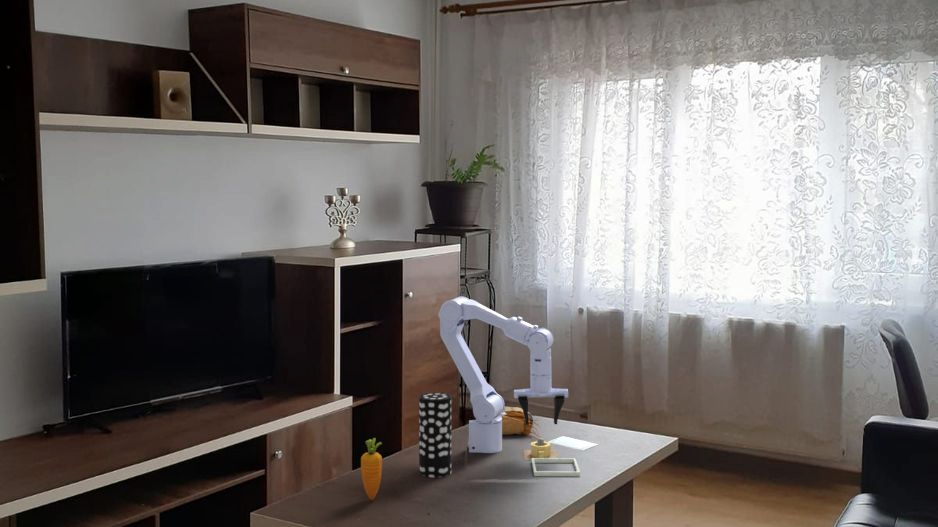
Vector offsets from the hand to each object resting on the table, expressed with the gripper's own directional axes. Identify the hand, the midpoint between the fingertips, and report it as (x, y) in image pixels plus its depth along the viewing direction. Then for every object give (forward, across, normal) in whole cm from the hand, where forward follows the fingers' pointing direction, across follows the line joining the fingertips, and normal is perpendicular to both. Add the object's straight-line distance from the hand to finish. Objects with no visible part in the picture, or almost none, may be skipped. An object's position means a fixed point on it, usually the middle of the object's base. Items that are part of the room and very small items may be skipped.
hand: (541, 423), depth 252 cm
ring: (+9, 0, 0) cm, 9 cm away
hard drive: (+10, +10, +11) cm, 18 cm away
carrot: (+9, -43, -33) cm, 55 cm away
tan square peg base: (+9, 0, 0) cm, 9 cm away
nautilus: (+10, -7, +22) cm, 24 cm away
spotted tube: (+9, -28, -12) cm, 32 cm away
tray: (+10, +2, -12) cm, 16 cm away
